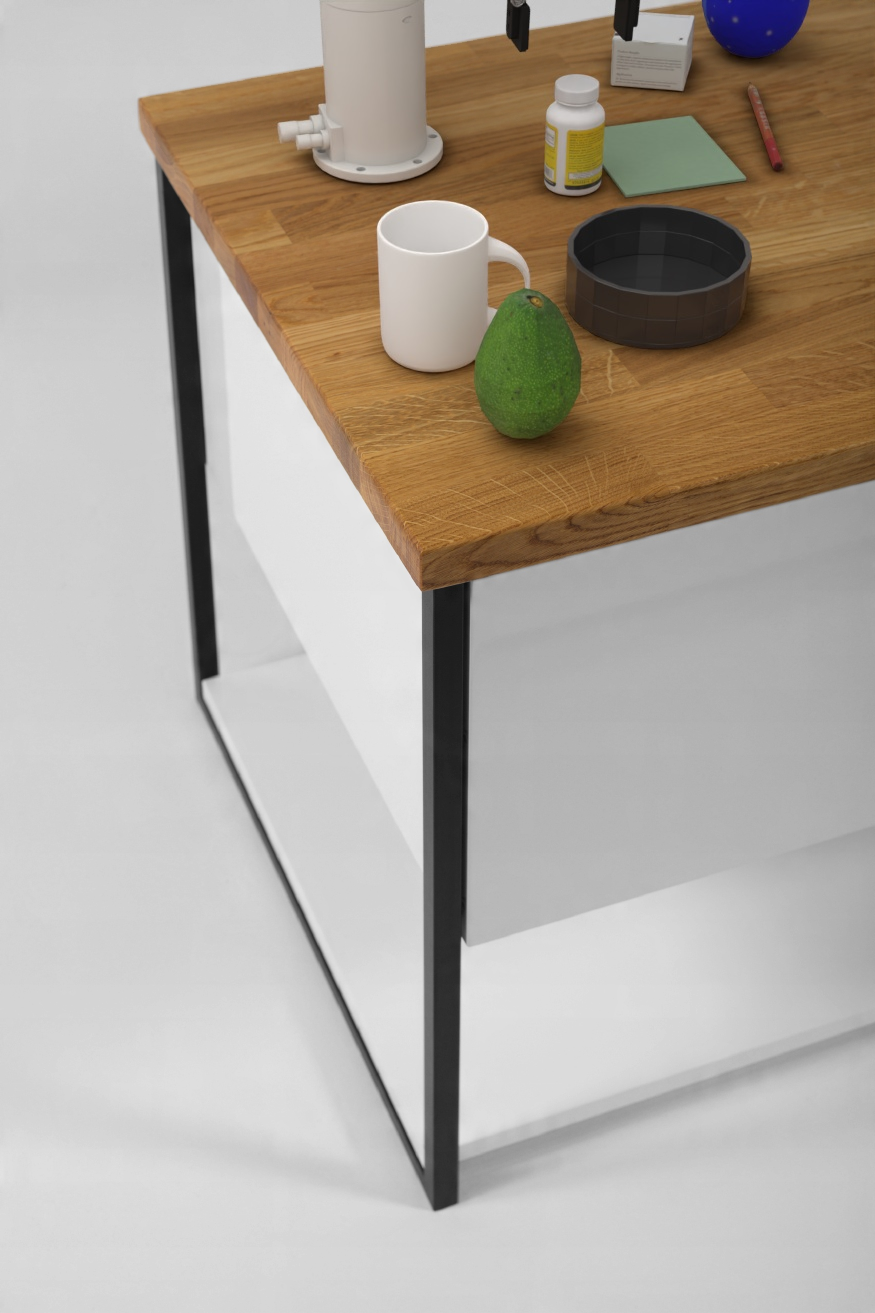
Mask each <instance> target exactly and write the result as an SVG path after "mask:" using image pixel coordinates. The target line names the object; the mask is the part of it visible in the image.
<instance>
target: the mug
mask: <svg viewBox="0 0 875 1313" xmlns="http://www.w3.org/2000/svg"><path fill="white" fill-rule="evenodd" d="M489 230H490V229H489V223H488V220H487V219H486V217H485V216H484V215H483V214H482V213H481V212H480V211H478V210H477V209H475V208H473V207H471V206H469V205H465V204H464V203H460V202H454V201H449V200H435V199H434V200H433V199H432V200H429V199H428V200H420V201H412V202H409V203H404V204H401V205H399V206H396V207H395V208H392V209H390V210H388V211H387V212H386V213H384V214H383V215H382V216H381V218H380V219H379V221H378V223H377V226H376V242H377V244H376V245H377V264H378V265H377V266H378V268H377V269H378V292H379V294H378V295H379V315H380V316H379V317H380V318H379V319H380V335H381V336H380V338H381V342H382V346H383V349H384V351H385V353H386V354H387V355H388V356H389V358H390V359H391V360H393V361H394V362H395V363H397V364H398V365H400V366H401V367H404V368H407V369H410V370H413V371H418V372H423V373H424V372H425V373H444V372H450V371H455V370H458V369H461V368H464V367H465V366H468V365H469V364H471V363H473V362H475V358H476V355H477V353H478V350H479V348H480V345H481V342H482V340H483V337H484V335H485V333H486V331H487V329H488V327H489V325H490V323H491V322H492V320H493V318H494V316H495V314H496V312H497V310H498V308H495V307H494V308H493V307H490V306H489V304H488V303H489V263H491V262H500V263H506V264H509V265H511V266H513V267H515V268H517V270H518V271H519V272H520V273H521V275H522V276H523V281H524V288H527V289H531V274H530V269H529V267H528V263H527V262H526V260H525V259H524V257H523V256H522V254H521V253H520V252H518V250H516V249H515V248H514V247H512V246H511V245H509V244H507V243H506V242H504V241H501V240H500V239H497V238H495V237H493V236H491V235H489V234H490V233H489Z"/></svg>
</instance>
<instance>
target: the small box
mask: <svg viewBox="0 0 875 1313" xmlns="http://www.w3.org/2000/svg"><path fill="white" fill-rule="evenodd" d="M695 17H696V16H695V15H691V14H690V15H688V14H671V13H660V12H659V13H658V12H656V13H655V12H646V11H645V12H644V11H639V18H638V25H637V27H634V29H633V39H632V41H627V42H625V40H623V39H622V38H621V37H620V36H619V35H618V33H617V32H616V31H615V30H614V33H613V36H612V39H611V62H610V63H611V64H610V66H611V67H610V86H616V87H630V88H639V89H641V88H642V89H652V90H653V89H655V90H667V91H677V92H678V91H679V92H684V90H685V86H686V83H687V79H688V75H689V72H690V68H691V66H692V61H693V47H694V46H693V45H694V32H695V20H696V19H695Z"/></svg>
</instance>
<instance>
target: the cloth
mask: <svg viewBox="0 0 875 1313" xmlns="http://www.w3.org/2000/svg"><path fill="white" fill-rule="evenodd" d="M602 169H603V170H604V171H605V172H606V174H607V175H608V176H609V177H610V179H611V180H612V182H613V183H614V184H615V185H616V187H617V188H618V190H619V191H620V192H621V193H622V195H623V196H624V197H625V198H634V197H641V196H646V195H647V196H648V195H654V194H661V193H669V192H676V191H683V190H690V189H696V188H698V189H699V188H704V187H711V186H718V185H725V184H732V183H737V182H738V183H739V182H746V181H747V177H746V176H745V174H744V173H743V172H742V171H741V170H740V169H739V167H737V165H736V164H735V163H734V162H733V161H732V160H731V159H730V157H728V155H727V154H726V153H725V152H724V151H723V149H722V148H721V147H720V146H719V145H718V144H717V143H716V142H715V140H714V139H713V138H712V137H711V136H710V135H709V134H708V133H707V131H706V130H705V129H704V128H703V127H702V125H700V123H699V122H698V121H697V120H696V119H695V118H694V117H693V116H692V115H685V116H676V117H670V118H669V117H668V118H662V119H654V120H647V121H640V122H631V123H625V124H617V125H616V124H615V125H609V126H605V129H604V146H603V164H602Z"/></svg>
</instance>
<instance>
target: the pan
mask: <svg viewBox="0 0 875 1313" xmlns="http://www.w3.org/2000/svg"><path fill="white" fill-rule="evenodd" d="M566 244H567V245H566V246H567V247H566V265H565V288H564V289H565V291H564V292H565V296H564V297H565V300H564V302H565V307H566V309H567V311H568V313H569V315H570V316H571V317H572V319H573V320H574V321H575V322H576V323H577V324H578V325H579V326H580V327H581V328H583V329H584V330H586V331H587V332H589V333H591V334H593V335H595V336H596V337H599V338H601V339H604V340H606V341H609V342H612V343H615V344H619V345H623V346H627V347H632V348H640V349H648V350H649V349H650V350H673V349H682V348H683V349H684V348H690V347H694V346H700V345H702V344H706V343H709V342H712V341H714V340H716V339H718V338H720V337H722V336H724V335H726V334H727V333H729V332H730V331H731V330H733V329H734V328H735V327H736V326H737V325H738V323H739V322H740V321H741V319H742V317H743V314H744V311H745V307H746V304H747V299H748V298H747V297H748V291H749V282H750V276H751V275H750V274H751V267H752V259H753V255H752V254H753V253H752V248H751V244H750V241H749V240H748V239H747V237H746V236H745V235H744V234H743V233H742V232H741V230H740V229H739V227H736V226H735V225H733V224H732V223H730V222H728V221H727V220H725V219H723V218H721V217H719V216H717V215H714V214H711V213H708V212H705V211H702V210H699V209H696V208H692V207H691V208H690V207H685V206H679V205H673V204H656V203H655V204H654V203H653V204H650V203H649V204H647V203H641V204H634V205H626V206H620V207H614V208H611V209H609V210H605V211H602V212H599V213H596V214H593V215H591V216H589V217H588V218H586V219H585V220H583V221H582V222H581V223H579V224H578V225H576V226H575V228H574V229H573V231H572V232H571V234H570V235H569V237H568V239H567V242H566Z"/></svg>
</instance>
